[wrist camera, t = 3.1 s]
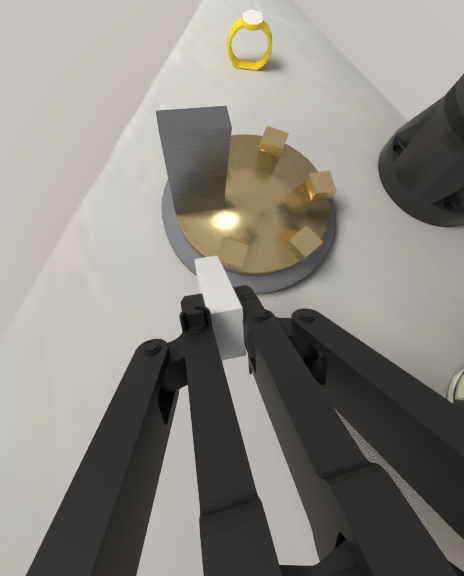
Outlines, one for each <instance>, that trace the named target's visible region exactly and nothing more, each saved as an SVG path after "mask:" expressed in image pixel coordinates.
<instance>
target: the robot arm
mask: <svg viewBox="0 0 464 576" xmlns="http://www.w3.org/2000/svg"><path fill="white" fill-rule="evenodd" d="M378 168H379V174H380V178H381V181H382V183H383V186H384V188H385V189H386V191H387V193H388V194H389V195H390V197H391V198H392V199H393V200H394V201H395V203H397V204H398V205H399V206H400V207H401V208H402V209H403V210H404V211H406V212H407V213H409V214H410V215H412V216H414V217H415V218H417V219H419V220H422V221H424V222H427V223H430V224H434V225H438V226H457V225H462V224H464V74H463V75H462V77H460V79H459V80H458V81H457V82H456V83H455V85H454V86H453V87H452V88H451V89H450V90H449V91H448V92H447V94H446V95H445V96H444V97H442V98H441V99H440V100H438V101H437V102H435V103H434V104H433V105H431V106H430V107H428V108H427V109H426V110H424V111H423V112H421V113H420V114H419V115H417V116H416V117H414V118H413V119H412V120H410V121H409V122H407V123H406V124H404V125H403V126H402V127H400V128H399V129H398V130H397V131H396V132H395V133H394V135H393V136H392V137H391V138H390V140H389V141H388V142H387V143H386V145H385V146H384V147H383V149H382V151H381V153H380V156H379V163H378ZM194 260H195V266H196V273H197V279H198V285H199V291H200V294H196V295H190V296H185V297H184V298H183V299H182V301H181V308H182V312H181V313H180V316H179V317H180V322H181V326H182V331H183V332H182V334H181V335H180V336H179V337H178V338H177V339H175V340H173V341H171V342H169V343H167V342H166V341H164V340H162V339H152V340H148V341H146V342H144V343H142V344H141V345H140V346H139V347H138V348H137V349H136V351H135V353H134V355H133V357H132V359H131V361H130V363H129V365H128V367H127V369H126V371H125V373H124V376H123V378H122V380H121V382H120V384H119V386H118V388H117V390H116V392H115V394H114V396H113V398H112V400H111V402H110V404H109V406H108V408H107V410H106V412H105V414H104V417H103V419H102V421H101V423H100V425H99V427H98V429H97V431H96V433H95V435H94V437H93V439H92V441H91V443H90V445H89V447H88V449H87V451H86V453H85V455H84V458H83V460H82V462H81V464H80V466H79V468H78V470H77V472H76V474H75V476H74V478H73V480H72V482H71V484H70V486H69V488H68V490H67V492H66V494H65V496H64V498H63V501H62V503H61V505H60V507H59V509H58V511H57V513H56V515H55V517H54V519H53V521H52V523H51V525H50V527H49V529H48V531H47V533H46V535H45V537H44V539H43V542H42V544H41V546H40V548H39V550H38V552H37V554H36V556H35V558H34V560H33V562H32V564H31V566H30V568H29V570H28V572H27V574H26V576H136V574H137V570H138V566H139V561H140V557H141V553H142V549H143V544H144V540H145V536H146V532H147V527H148V523H149V519H150V514H151V510H152V506H153V502H154V497H155V493H156V489H157V485H158V480H159V476H160V472H161V468H162V463H163V459H164V455H165V451H166V446H167V442H168V438H169V434H170V429H171V425H172V421H173V417H174V412H175V408H176V404H177V400H178V395H179V389H180V388H182V387H184V386H186V385H188V390H189V401H190V411H191V421H192V431H193V441H194V451H195V461H196V472H197V482H198V492H199V502H200V518H199V523H200V539H201V549H202V560H203V571H204V576H464V572H463V571H462V570H460V569H459V568H458V567H456V566H455V565H453V564H452V563H451V562H449V561H448V560H447V559H446V558H445V556H444V555H443V553H442V552H441V550H440V549H439V547H438V546H437V544H436V543H435V541H434V540H433V538H432V537H431V535H430V534H429V532H428V531H427V530H426V528H425V527H424V525H423V524H422V522H421V521H420V519H419V518H418V516H417V515H416V513H415V512H414V510H413V509H412V507H411V506H410V505H409V503H408V502H407V500H406V499H405V497H404V496H403V494H402V493H401V491H400V490H399V488H398V487H397V485H396V484H395V482H394V481H393V480H392V478H391V477H390V476H389V474H388V473H387V472H386V471H385V469H384V468H382V467H381V466H380V465H379V464H375V463H370V462H369V461H368V460H367V459H366V458H365V456H364V455H363V454H362V452H361V450H360V449H359V447H358V446H357V444H356V443H355V441H354V439H353V438H352V436H351V435H350V433H349V432H348V430H347V429H346V427H345V425H344V424H343V422H342V421H341V419H340V418H339V416H338V414H337V413H336V411H335V410H334V408H335V409H336V410H337V411H338V412H339V413H340V414H341V415H342V416H343V417H344V418H345V419H346V421H347V422H348V423H349V424H350V425H351V426H352V427H353V428H354V429H355V430H356V431H357V432H358V433H359V434H360V435H361V436H362V437H363V438H364V439H365V440H366V441H367V442H368V443H369V444H370V445H371V446H372V447H373V448H374V449H375V450H376V451H377V452H378V453H379V454H380V455H381V456H382V457H383V458H384V459H385V460H386V461H387V462H388V463H389V464H390V465H391V466H392V467H393V469H394V470H395V471H396V472H397V473H398V474H399V475H400V476H401V477H402V478H403V479H404V480H405V481H406V482H407V483H408V484H409V485H410V486H411V487H412V488H413V489H414V490H415V491H416V492H417V493H418V494H419V495H420V496H421V497H422V498H423V499H424V500H425V501H426V502H427V503H428V504H429V505H430V506H431V507H432V508H433V509H434V510H435V511H436V512H437V513H438V514H439V516H440V517H441V518H442V519H443V520H444V521H445V522H446V523H447V524H448V525H449V526H450V527H451V528H452V529H453V530H454V531H455V532H456V533H458V534H459V535H460V536H461V537H462V538H463V539H464V411H463V410H462V409H460V408H459V407H457V406H456V405H454V404H453V403H451V402H450V401H448V400H447V399H445V398H444V397H442V396H441V395H439V394H438V393H437V392H435V391H434V390H432V389H431V388H429V387H428V386H426V385H425V384H423V383H422V382H420V381H419V380H417V379H416V378H414V377H413V376H412V375H410V374H409V373H407V372H406V371H404V370H403V369H401V368H400V367H398V366H397V365H395V364H394V363H392V362H391V361H389V360H388V359H387V358H385V357H384V356H382V355H381V354H379V353H378V352H376V351H375V350H373V349H372V348H370V347H369V346H367V345H366V344H364V343H363V342H361V341H360V340H359V339H357V338H356V337H354V336H353V335H351V334H350V333H348V332H347V331H345V330H344V329H342V328H341V327H339V326H338V325H336V324H335V323H334V322H332V321H331V320H329V319H328V318H326V317H325V316H323V315H322V314H320V313H319V312H317V311H315V310H311V309H299V310H296V311H295V312H293V314H292V318H277V317H275V316H274V314H273V313H272V312H271V311H268V310H266V309H264V307H263V306H262V304H261V302H260V301H259V299H258V298H257V296H256V294H255V292H254V291H253V289H252V288H250V287H249V286H247V285H243V286H237V287H232V285H231V283H230V281H229V279H228V277H227V275H226V272H225V270H224V268H223V266H222V264H221V262H220V260H219V258H218V256H211V257H205V258H198V259H194ZM245 347H246V348H245ZM246 350H247V352H248V360H249V373H250V374H252V372H253V375H254V378H255V380H256V383H257V386H258V388H259V391H260V393H261V396H262V399H263V401H264V404H265V407H266V409H267V412H268V414H269V417H270V420H271V422H272V425H273V427H274V430H275V433H276V435H277V438H278V441H279V443H280V446H281V448H282V451H283V454H284V456H285V459H286V462H287V464H288V467H289V469H290V472H291V475H292V477H293V480H294V482H295V485H296V488H297V490H298V493H299V496H300V498H301V501H302V503H303V506H304V509H305V511H306V514H307V517H308V519H309V522H310V525H311V528H312V532H313V537H314V542H315V546H316V550H317V553H318V557H319V560H320V562H319V563H318V564H316V565H314V566H296V565H279V563H278V559H277V555H276V552H275V548H274V544H273V541H272V537H271V533H270V530H269V526H268V522H267V519H266V515H265V512H264V509H263V505H262V503H261V500H260V498H259V497H258V494H257V491H256V488H255V484H254V480H253V477H252V473H251V469H250V465H249V462H248V458H247V454H246V450H245V447H244V443H243V439H242V435H241V432H240V428H239V424H238V420H237V417H236V413H235V409H234V405H233V402H232V398H231V394H230V390H229V387H228V383H227V379H226V375H225V372H224V368H223V364H222V360H226V359H231V358H235V357H240V356H245V355H246ZM321 353H322V354H321ZM332 406H333V407H334V408H333V407H332Z"/></svg>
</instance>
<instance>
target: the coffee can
mask: <svg viewBox="0 0 464 576" xmlns="http://www.w3.org/2000/svg"><path fill="white" fill-rule="evenodd" d="M447 400H448V401H450V402H451V403H453V404H454V405H456V406H457V407H459V408H460V409H462V410H463V411H464V367H463V368H461V369H460V370H459V371H458V372H457V373H456V374H455V376H454V377H453V379H452V381H451V383H450V386H449V389H448V395H447Z"/></svg>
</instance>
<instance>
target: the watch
mask: <svg viewBox="0 0 464 576" xmlns="http://www.w3.org/2000/svg"><path fill="white" fill-rule="evenodd" d="M243 27H245V28H246V29H248V30H252V31H255V30H259V29H262V30H263V31H264V32H265V34H266V35H267V38H268V41H269V45H268V50H267V51H266V53H265V55H264V56H263V58H261V59H260V60H258V61H257V62H248V61H241V60H238V59H237V58H236V56H235V55H234V54H233V51H232V48H231V41H232V38H233V37H234V35H235V34H236V32H237V30H239V29H241V28H243ZM271 49H272V35H271V32H270V28H269V27H268V25H267V24H266V23H265V21H264V17H263V15H262V14H261V13H260V12H258V11H255V10H248V11H246V12H244V13H243V15H242V18H241V19H239V20H237V22H235V24H234V25H233V27H232V28H231V30H230V33H229V38H228V54H229V57H230V60H231V62H232V63H233V64H234V65H235V67H236V68H238V69H248V70H256V71H257V70H259V69H260V68H261V67H263V66H264V65H265V64H266V62H267V61H268V59H269V57H270V55H271Z"/></svg>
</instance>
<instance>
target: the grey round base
mask: <svg viewBox="0 0 464 576" xmlns="http://www.w3.org/2000/svg"><path fill="white" fill-rule="evenodd" d="M329 203H330V215H329V221H328V225H327V228H326V230H325V233H324V235H323V236H322V238H321V240H322V241H323V243H322V244H321V245H320V246H319V248H317V249H316V250H315V251H314V252H313V253H312V254H310V255H309V256H308V257H307V258H306V259H305V260H303V261H302V262H301V261H300V262H299V263H298V264H296V265H295V266H293V267H291V268H289V269H287V270H284V271H281V272H279V273H274V274H270V275H262V276H248V275H241V274H236V273H232V272H229V271H226V270H225V272H226V275H227V277H228V279H229V281H230V283H231V285H232V287H237V286H243V285H247V286H249V287H250V288H252V289H253V291H254V292H255V294H264V293H271V292H275V291H279V290H282V289H284V288H287V287H289V286H291V285H293V284H295V283H297V282H299V281H300V280H301V279H303V278H304V277H305V276H307V275H308V274H309V273H310V272H311V271H312V270H313V269H314V268H315V267H316V266H317V265H318V264H319V263H320V262H321V260H322V259H323V258H324V256H325V255H326V253H327V251H328V249H329V247H330V245H331V243H332V240H333V236H334V232H335V225H336V215H335V207H334V203H333V199H332V198H329ZM162 218H163V223H164V227H165V231H166V234H167V237H168V239H169V242H170V245H171V246H172V248H173V250H174V252H175V254H176V255H177V256H178V258H179V259H180V260H181V262H182V263H183V264H184V265H185V266H186V267H187V268H188V269H189V270H190V271H191V272H192V273H194V274H195V275H196V276H197V273H196V266H195V260H194V259H198V258H203V257H201V256H200V255H199V254H198V253H197V252H196V251H195V250H194V249H193V248H192V247H191V246H190V244H189V243H188V242H187V241H186V239H185V237H184V235H183V234H182V232H181V229H180V227H179V224H178V221H177V217H176V214H175V209H174V204H173V199H172V194H171V189H170V184H169V179H168V181H167V184H166V186H165V189H164V193H163V198H162Z"/></svg>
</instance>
